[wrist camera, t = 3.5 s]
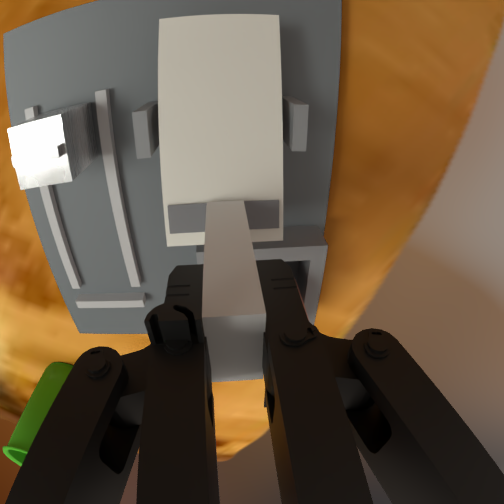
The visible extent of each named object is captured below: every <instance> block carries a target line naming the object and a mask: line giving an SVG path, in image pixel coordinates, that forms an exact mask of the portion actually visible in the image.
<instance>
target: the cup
mask: <svg viewBox="0 0 504 504" xmlns="http://www.w3.org/2000/svg"><path fill="white" fill-rule="evenodd" d="M72 368H73V366H72V365H70V364H66V363H62V362H54V363H51V364H50V365H49V366H48V367H47V368H46V369H45V371H44V373H43V375H42V377H41V378H40V380H39V382H38V384H37V386H36V388H35V390H34V392H33V393H32V395H31V397H30V399H29V401H28V403H27V405H26V407H25V409H24V411H23V413H22V415H21V417H20V419H19V421H18V423H17V426H16V428H15V430H14V432H13V434H12V436H11V439H10V441H9V443H8V445H7V446H4V447H3V452H4V454H5V455H6V456H7V457H9V458H10V459H11V460H12V461H14V462H15V463H17V464H18V465H20V466H22V463H23V461H24V459H25V457H26V455H27V453H28V451H29V448H30V446H31V444H32V442H33V440H34V438H35V436H36V434H37V432H38V430H39V428H40V426H41V424H42V422H43V420H44V418H45V417H46V415H47V413H48V411H49V409H50V407H51V405H52V403H53V402H54V400H55V398H56V396H57V394H58V392H59V391H60V389H61V387H62V385H63V383H64V382H65V380H66V378H67V376H68V375H69V373H70V371H71V369H72Z"/></svg>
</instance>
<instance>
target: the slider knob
mask: <svg viewBox="0 0 504 504" xmlns="http://www.w3.org/2000/svg"><path fill="white" fill-rule="evenodd" d="M7 130H8V135H9V141H10V146H11V151H12V157H11V160H12V164H13V168H14V167H15V169H16V173H17V177H18V181H19V185H20V189H21V190H24V189H29V188H35V187H40V186H46V185H52V184H59V183H65V182H72V181H73V180H74V179H75V178H76V177H77V176H78V175H79V174H80V173H81V172H82V171H83V170H84V169H85V168H86V167H88V166H89V165H90V164H91V163H92V162H93V161H94V160H95V159H96V158H97V157H98V154H97V148H96V141H95V134H94V127H93V119H92V110H91V102H88V103H83V104H78V105H73V106H69V107H65V108H60V109H56V110H52V111H48V112H45V113H41V114H39V115H37V116H35V117H32V118H30V119H28V120H26V121H23V122H21V123H19V124H17V125H15V126H13V127H11V128H9V129H7Z"/></svg>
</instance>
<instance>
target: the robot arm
mask: <svg viewBox="0 0 504 504" xmlns="http://www.w3.org/2000/svg"><path fill="white" fill-rule="evenodd" d="M144 323H145V326H146V330H147V333H148V336H149V339H150V342H151V344H150V345H149V346H147V347H146V348H144V349H142V350H139V351H136V352H133V353H129V354H125V355H121V356H120V355H119V353H118V352H117V351H116V350H114V349H112V348H109V347H100V346H99V347H95V348H91V349H89V350H88V351H86V352H84V353H83V354H82V355H81V356H80V357H79V358H78V360H77V361H76V363H75V364H74V366H73V368H72V369H71V371H70V373H69V375H68V376H67V378H66V380H65V382H64V383H63V385H62V387H61V389H60V391H59V392H58V394H57V396H56V398H55V400H54V402H53V403H52V405H51V407H50V409H49V411H48V413H47V415H46V417H45V418H44V420H43V422H42V424H41V426H40V428H39V430H38V432H37V434H36V436H35V438H34V440H33V442H32V444H31V446H30V448H29V451H28V453H27V455H26V457H25V459H24V461H23V463H22V466H21V468H20V470H19V472H18V474H17V477H16V479H15V481H14V484H13V486H12V488H11V491H10V493H9V496H8V498H7V500H6V503H5V504H120V501H121V498H122V495H123V492H124V489H125V486H126V483H127V480H128V477H129V474H130V471H131V469H132V466H133V463H134V460H135V457H136V455H137V452H138V449H139V462H138V463H139V464H138V480H137V504H220V499H219V485H218V471H217V455H216V438H215V419H214V398H213V393H212V382H222V381H240V380H253V379H263V374H264V381H265V399H264V407H267V413H268V419H269V426H270V432H271V439H272V445H273V452H274V458H275V465H276V471H277V477H278V484H279V490H280V496H281V502H282V504H373V501H372V498H371V494H370V491H369V487H368V483H367V480H366V476H365V473H364V470H363V466H362V463H361V459H360V456H359V453H358V449H359V451H360V452H361V454H362V455H363V457H364V459H365V460H366V462H367V463H368V465H369V467H370V468H371V470H372V472H373V473H374V475H375V476H376V478H377V480H378V481H379V483H380V484H381V486H382V488H383V489H384V491H385V492H386V494H387V496H388V497H389V499H390V500H391V502H392V504H504V474H503V473H502V472H501V470H500V469H499V467H498V466H497V465H496V463H495V462H494V461H493V459H492V458H491V457H490V455H489V454H488V452H487V451H486V450H485V448H484V447H483V446H482V444H481V443H480V442H479V440H478V439H477V438H476V436H475V435H474V434H473V432H472V431H471V430H470V429H469V427H468V426H467V425H466V423H465V422H464V421H463V420H462V418H461V417H460V416H459V414H458V413H457V412H456V411H455V409H454V408H453V407H452V406H451V404H450V403H449V402H448V401H447V399H446V398H445V397H444V396H443V394H442V393H441V392H440V391H439V389H438V388H437V387H436V386H435V385H434V383H433V382H432V381H431V380H430V378H429V377H428V376H427V375H426V374H425V373H424V371H423V370H422V369H421V367H420V366H419V365H418V364H417V363H416V362H415V360H414V359H413V358H412V357H411V356H410V355H409V353H408V352H407V351H406V350H405V349H404V347H403V346H402V345H401V344H400V343H399V341H398V340H397V339H396V338H394V337H393V336H392V335H391V334H390V333H388V332H386V331H383V330H380V329H373V328H371V329H366V330H362V331H361V332H359V333H357V334H356V335H355V337H354V339H353V340H347V339H340V338H333V337H329V336H326V335H324V334H322V333H320V332H319V331H318V329H317V327H316V326H314V325H313V324H312V323H310V322H309V320H308V318H307V315H306V312H305V309H304V306H303V303H302V300H301V297H300V294H299V291H298V288H297V285H296V282H295V280H294V276H293V273H292V270H291V267H290V266H289V265H287V264H286V263H285V262H284V261H283V260H282V259H270V260H255V255H254V250H253V245H252V240H251V235H250V230H249V225H248V220H247V215H246V210H245V205H244V200H240V201H218V202H207V206H206V223H205V243H204V264H196V265H177V266H176V267H175V268H174V269H173V271H172V272H171V273H170V274H169V277H168V283H167V289H166V297H165V301H164V303H163V304H161V305H158V306H156V307H154V308H153V309H152V310H151V311H150V312H149V313H148V314H147V316H146V318H145V320H144ZM139 446H140V448H139ZM357 447H358V449H357Z"/></svg>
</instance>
